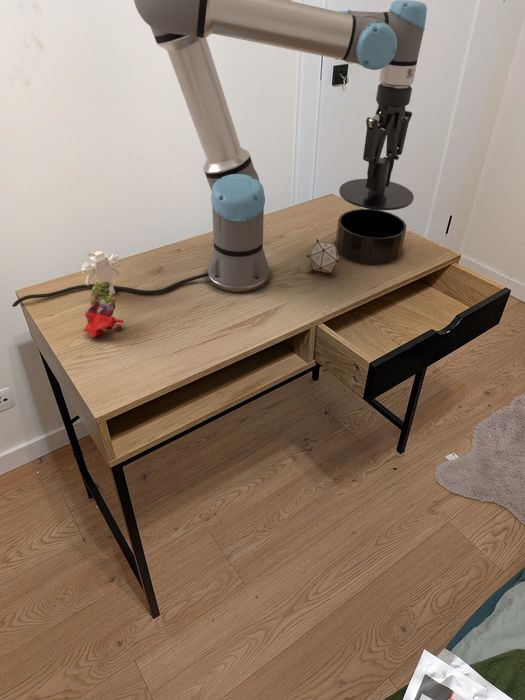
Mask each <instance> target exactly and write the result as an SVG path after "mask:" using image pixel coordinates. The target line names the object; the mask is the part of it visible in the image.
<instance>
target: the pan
mask: <svg viewBox="0 0 525 700" xmlns="http://www.w3.org/2000/svg"><path fill="white" fill-rule="evenodd" d="M406 231H407V224H406V222H405V220H404V219H402V218H401V217H400V216H398V215H396V214H394V213H391V212H388V211H386V210H373V209H367V208H358V209H351V210H348V211H345V212H344V213H342V214H341V215H340V216H339V218H338V220H337V227H336V235H335V241H334V244H335V243H336V242H338V243H337V245H336V248H337V252H338V255H340V256H341V257H342V258H344V259H346V260H348V261H350V262H353V263H356V264H362V265H366V266H367V265H368V266H383V265H387V264H391V263H393V262H395V261H396V260H398V259H399V258H400V256H401V254H402V251H403V245H404V241H405V236H406V233H407V232H406Z"/></svg>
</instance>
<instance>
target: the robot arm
mask: <svg viewBox="0 0 525 700" xmlns="http://www.w3.org/2000/svg"><path fill="white" fill-rule="evenodd" d="M133 2H134V6H135V8H136V10H137V13H138V15H139V16H140V18H141V19H142V20H143V21H144V23H146V25H148V26H149V28H150V30H151V32H152V35H153V37H154V40H155V42H156V45H157V46H159V47H160V48H162V49H164V50H166V52H167V54H168V57H169V60H170V63H171V66H172V68H173V71H174V74H175V76H176V79H177V82H178V85H179V88H180V90H181V93H182V96H183V99H184V101H185V104H186V107H187V109H188V112H189V115H190V117H191V120H192V123H193V126H194V128H195V132H196V134H197V137H198V140H199V143H200V145H201V148H202V150H203V154H204V156H205V159H206V160H205V163H204V165H203V167H202V168H203V169H202V170H203V172H204V174H205V177H206V180H207V184H208V186H209V188H210V191H211V195H210V202H211V209H212V213H211V214H212V236H213V237H212V238H213V240H212V241H213V249H212V253H211V255H210V259H209V263H208V265H207V268H206V269H207V270H206V272H203V273H200V274H198V275H194V276H191V277H188V278H184V279H181V280H179V281H176V282H175V283H172V284H170V285H168V286H166V287H162V288H159V289H151V290H149V289H147V290H145V289H137V288H133V287H128V286H118V285H113V288H114V291H125V292H129V293H130V292H131V293H136V294H141V295H155V294H161V293H165V292H168V291H170V290H173V289H174V288H177V287H179V286H181V285H183V284H184V285H185V284H188V283H190V282H193V281H196V280H199V279H202V278H206V277H207V281H208V282H209V283H210V284H211V286H213V287H215V288H216V289H218V290H221V291H224V292H228V293H235V294H237V293H248V292H253V291H257V290H259V289H261V288H263V287H264V286H265V285H266V284H267V283H268V282H269V280H270V273H271V272H270V271H271V270H270V266H269V263H268V260H267V256H266V254H265V251H264V219H265V218H264V215H265V213H264V212H265V203H266V195H265V189H264V186H263V184H262V183H261V181H260V178H259V174H258V172H257V171H256V169H255V167H254V163H253V161H252V157H251V154H250V152H249V151H248V150H247V149H245V148H243V147H242V146H241V144H240V140H239V137H238V134H237V130H236V128H235V125H234V121H233V117H232V115H231V111H230V109H229V104H228V102H227V99H226V96H225V93H224V90H223V87H222V84H221V80H220V78H219V73H218V72H217V71H218V70H217V68H216V64H215V61H214V57H213V55H212V51H211V48H210V46H209V42H208V39H207V38H208V37H209V36H210V35H217V36H223V37H226V38H227V37H228V38H232V39H237V40H242V41H247V42H251V43H257V44H261V45H266V46H271V47H276V48H281V49H286V50H292V51H297V52H301V53H306V54H311V55H316V56H321V57H325V58H331V59H335V60H340V61H344V62H347V63H352V64H358V65H360V66H362V67H363V68H365V69H368V70H370V71H371V70H372V71H378V70H380V71H379V76H378V81H379V82H380V83H378V85H377V91H376V95H375V96H376V97H375V102H376V103H377V109H376V111H375V115H374V116H372V117H369V116H368V117H366V120H365V122H366V123H365V124H366V132H365V133H366V134H365V140H364V149H363V156H362V160H363V161H365V162H367V163H368V165H367V172H366V175H367V177H366V179H367V183H366V188H369V189H371V190H373V191H375V190H376V187H377V182H378V176H379V170H380V165H381V164H380V163H378V162H379V159H380V158H381V155H382V152H383V148H384V145H385V142H386V149H385V156H383V157H382V158H385V159H388V160H390V166H389V171H388V177H387V182H386V187H387V186H389V182H391V178H392V177H391V176H392V173H393V169H394V165H395V161H398V160H399V159H400V156H402V154H403V151H404V146H405V141H406V138H407V133H408V128H409V124H410V121H411V119H412V116H413V112H412V111H410V110H406V107H407V106H408V105H410V101H411V97H412V93H413V88H412V86H411V85H413V84H414V80H415V75H416V69H417V64H418V59H419V55H420V50H421V45H422V41H423V37H424V32H425V30H426V27H425V26H426V21H427V13H428V7H427V5H426V3H424V2H423V1H418V0H393V1H392V2H391V4H390V8H389V10H388V11H364V10H363V11H360V10H351V9H348V10H337V11H336V10H333V9H328V8H323V7H319V6H314V5H310V4H305V3H301V2H297V1H292V0H133ZM95 284H96V283H89V285H88V286H87V284H86V283H85V284H79V285H74V286H73V285H72V286H71V287H66V288H64V289H59V290H56V291H52V292H47V293H35V294H27V295H23V296H20V297H19V298H18V299H16V300H15V301H14V302H13V304H12V305H11V307H13V308H15V307H17V306H18V305H20V303H22V302H24V301H26V300H30V299H31V300H32V299H40V298H41V299H42V298H50V297H54V296H58V295H62V294H65V293H68V292H71V291H76V290H81V289H90V288H91V289H92V288H93V286H94V285H95Z"/></svg>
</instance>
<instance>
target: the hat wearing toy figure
mask: <svg viewBox="0 0 525 700" xmlns="http://www.w3.org/2000/svg"><path fill="white" fill-rule="evenodd" d="M86 255H87V257H89V259H90V260H91V261H92V263H91V262H87V261H86V262H83V264H82V265H81V273H82V275H85V273H86V274H87V276H86V279H85V284H87V286H88V285H89V284H91V283H92V281H93V278H94V275H95V278H96V282H97V281H103V282H108V283H109V285H110V287H109V291H110V292H109V294H108V296H110V295H111V293H113V295H115V294H116V290H115V289H114V288H113V286H114V285H113V282H112V279H113V278H112V277H113V275H116V276H117V277H118V278H120V276H121V272H120V270H119V269H118V268H117V267H119V266H121V265H120V264H121V263H122V258H121V257H119V254H114V253H112V254H111V256H110V257H109V256H108V255H107V254H106V253H105V252H104V251H101V250H97V251H92V252H88V253H87V254H86ZM108 257H109V258H108Z"/></svg>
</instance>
